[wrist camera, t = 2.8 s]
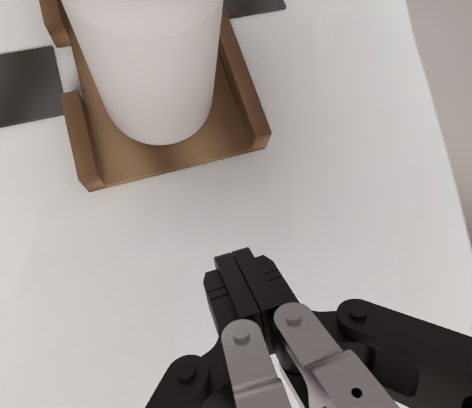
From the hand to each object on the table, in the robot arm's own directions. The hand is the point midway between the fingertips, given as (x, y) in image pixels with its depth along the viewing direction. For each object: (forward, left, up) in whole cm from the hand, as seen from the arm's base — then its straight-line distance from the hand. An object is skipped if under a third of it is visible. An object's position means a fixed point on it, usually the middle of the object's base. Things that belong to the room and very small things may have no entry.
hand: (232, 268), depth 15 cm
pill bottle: (0, +14, -10) cm, 17 cm away
